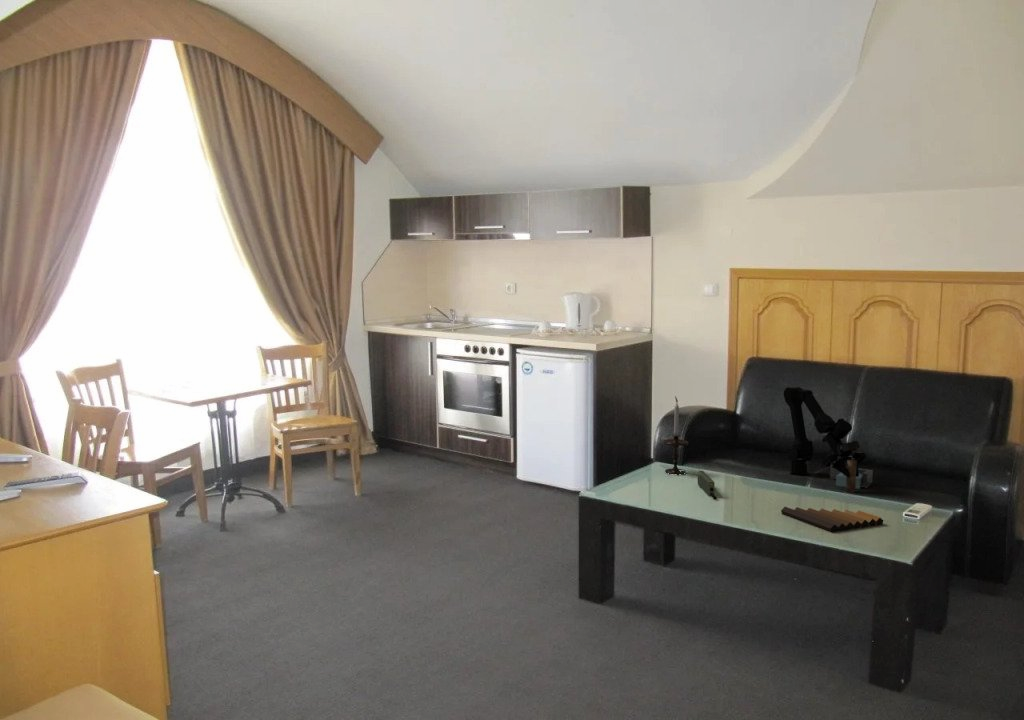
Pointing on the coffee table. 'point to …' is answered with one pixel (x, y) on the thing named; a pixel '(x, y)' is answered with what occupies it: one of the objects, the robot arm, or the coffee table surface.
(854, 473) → the dowel
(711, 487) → the handheld radio
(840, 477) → the socket block
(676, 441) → the candlestick
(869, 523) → the pan flute
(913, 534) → the coffee table surface
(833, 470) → the corner stop
